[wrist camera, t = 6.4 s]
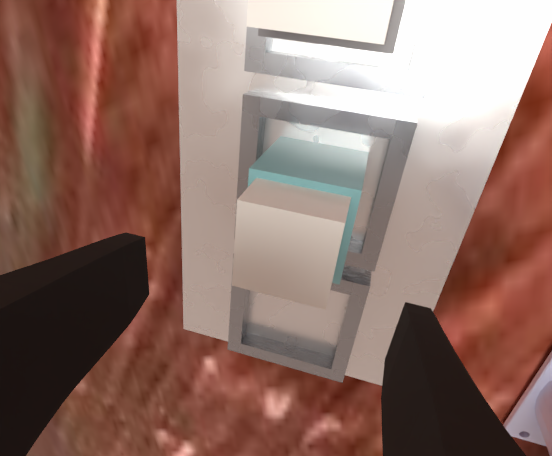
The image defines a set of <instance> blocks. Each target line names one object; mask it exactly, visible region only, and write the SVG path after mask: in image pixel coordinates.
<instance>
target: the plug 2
mask: <svg viewBox="0 0 552 456" xmlns="http://www.w3.org/2000/svg"><path fill="white" fill-rule="evenodd" d="M368 154H369V152H365V151H360V150H354V149H349V148H343V147H338V146H333V145H327V144H322V143H316V142H311V141H305V140H300V139H294V138H289V137H283V136H280V137H279V138H278V139H277V140H276V141H275V142H274V143H273V144H272V145H271V146H270V147H269V148H268V149H267V150H266V151H265V152H264V153H263V154H262V155H261V156H260V157H259V159H258V160H257V161H256V162H255V163H254V164H253V165H252V166H251V167H250V168H249V176H248V188H247V189H246V190H245V191H244V192H243V194H242V195H241V196H240V197H239V198H238V199H237V210H236V226H235V243H234V259H233V275H232V286H236V287H240V288H243V289H247V290H251V291H255V292H259V293H263V294H266V295H270V296H274V297H278V298H282V299H286V300H290V301H293V302H297V303H301V304H305V305H309V306H313V307H317V308H320V309H324V310H326V306H327V302H328V298H329V293H330V289H331V285H332V283H335V284H339V285H340V281H341V277H342V272H343V268H344V264H345V260H346V256H347V251H348V247H349V243H350V239H351V235H352V230H353V226H354V222H355V218H356V214H357V210H358V205H359V201H360V197H361V193H362V188H363V182H364V177H365V171H366V165H367V160H368Z"/></svg>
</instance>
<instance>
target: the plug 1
mask: <svg viewBox="0 0 552 456" xmlns="http://www.w3.org/2000/svg"><path fill="white" fill-rule="evenodd" d="M405 3H406V0H248V9H247V26H246V27H254V28H258V36H262V37H269V38H277V39H284V40H291V41H299V42H306V43H313V44H321V45H328V46H336V47H343V48H350V49H358V50H365V51H372V52H380V53H387V54H393V53H394V49H395V45H396V41H397V37H398V32H399V28H400V24H401V20H402V15H403V11H404V7H405Z"/></svg>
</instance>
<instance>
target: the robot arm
mask: <svg viewBox="0 0 552 456" xmlns="http://www.w3.org/2000/svg"><path fill="white" fill-rule="evenodd" d="M148 295H149V285H148V272H147V258H146V245H145V237H141V236H137V235H133V234H129V233H123V234H119V235H116V236H112V237H109V238H106V239H104V240H101V241H98V242H95V243H92V244H90V245H87V246H84V247H81V248H79V249H76V250H73V251H70V252H68V253H65V254H62V255H59V256H57V257H54V258H51V259H48V260H45V261H42V262H39V263H36V264H33V265H30V266H27V267H24V268H21V269H18V270H15V271H12V272H9V273H6V274H3V275H0V456H26V454H27V453H28V451H29V450H30V449H31V447H32V446H33V444H34V443H35V441H36V440H37V438H38V437H39V435H40V434H41V432H42V431H43V430H44V428H45V427H46V425H47V424H48V423H49V421H50V420H51V418H52V417H53V416H54V414H55V413H56V411H57V410H58V409H59V407H60V406H61V404H62V403H63V402H64V401H65V399H66V398H67V397H68V396H69V394H70V393H71V392H72V391H73V389H74V388H75V387H76V386H77V385H78V383H79V382H80V381H81V380H82V379H83V378H84V376H85V375H86V374H87V373H88V372H89V371H90V370H91V368H92V367H93V366H94V365H95V364H96V363H97V362H98V360H99V359H100V358H101V357H102V356H103V355H104V353H105V352H106V351H107V350H108V349H109V348H110V347H111V345H112V344H113V343H114V342H115V341H116V340H117V338H118V337H119V336H120V335H121V334H122V333H123V331H124V330H125V329H126V328H127V327H128V325H129V324H130V323H131V321H132V320H133V318H134V317H135V316H136V314H137V313H138V311H139V310H140V308H141V306H142V305H143V303H144V302H145V300H146V298H147V297H148ZM381 403H382V441H383V456H526V455H525V454H524V452H523V451H522V450H521V448H520V447H519V446H518V445H517V443H516V442H515V441H514V439H513V438H512V437H516V438H519V439H523V440H526V441H529V442H533V443H536V444H540V445H543V446H546V447H547V449H548V452H549V454H550V456H552V351H551V353H550V354H549V356H548V357H547V359H546V360H545V362H544V363H543V365H542V366H541V368H540V369H539V371H538V372H537V374H536V375H535V377H534V378H533V380H532V382H531V383H530V385H529V386H528V388H527V389H526V391H525V392H524V394H523V395H522V397H521V398H520V400H519V401H518V403H517V404H516V406H515V407H514V409H513V410H512V412H511V413H510V415H509V416H508V418H507V419H506V421H505V423H504V425H502V423H501V422H500V420H499V419H498V418H497V416H496V415H495V413H494V412H493V410H492V409H491V407H490V406H489V405H488V403H487V402H486V400H485V399H484V397H483V396H482V394H481V393H480V391H479V390H478V388H477V386H476V385H475V383H474V382H473V380H472V378H471V377H470V375H469V374H468V372H467V370H466V369H465V367H464V365H463V364H462V362H461V361H460V359H459V357H458V355H457V354H456V352H455V350H454V349H453V347H452V345H451V343H450V342H449V340H448V338H447V336H446V335H445V333H444V331H443V329H442V327H441V325H440V324H439V322H438V320H437V318H436V316H435V315H434V313H433V311H432V310H431V308H428V307H424V306H420V305H416V304H412V303H408V302H405V304H404V307H403V309H402V312H401V315H400V318H399V321H398V323H397V326H396V329H395V332H394V335H393V338H392V340H391V343H390V346H389V349H388V352H387V354H386V357H385V362H384V373H383V384H382V396H381ZM511 436H512V437H511Z"/></svg>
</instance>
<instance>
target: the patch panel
mask: <svg viewBox="0 0 552 456" xmlns="http://www.w3.org/2000/svg"><path fill="white" fill-rule="evenodd" d="M247 9H248V0H177V36H178V84H179V132H180V179H181V227H182V275H183V322H184V329H186V330H189V331H193V332H196V333H200V334H203V335H207V336H210V337H214V338H217V339H221V340H224V341H228V350H231V351H235V352H238V353H242V354H245V355H249V356H252V357H255V358H259V359H262V360H266V361H269V362H273V363H276V364H280V365H283V366H286V367H290V368H293V369H297V370H300V371H304V372H307V373H311V374H314V375H317V376H321V377H324V378H328V379H331V380H335V381H338V382H342V383H343V379H344V376H345V375H346V376H350V377H353V378H357V379H360V380H364V381H367V382H371V383H374V384H378V385H381V386H382V384H383V373H384V362H385V357H386V354H387V352H388V349H389V346H390V343H391V340H392V338H393V335H394V332H395V329H396V326H397V323H398V321H399V318H400V315H401V312H402V309H403V307H404V304H405V302H408V303H412V304H416V305H420V306H424V307H428V308H431V310H432V311H434V308H435V306H436V303H437V301H438V298H439V296H440V293H441V291H442V289H443V286H444V284H445V281H446V279H447V276H448V274H449V271H450V269H451V267H452V264H453V262H454V259H455V257H456V254H457V252H458V249H459V247H460V245H461V242H462V240H463V237H464V235H465V232H466V230H467V228H468V225H469V223H470V220H471V218H472V215H473V213H474V210H475V208H476V206H477V203H478V201H479V198H480V196H481V193H482V191H483V188H484V186H485V184H486V181H487V179H488V176H489V174H490V171H491V169H492V166H493V164H494V162H495V159H496V157H497V154H498V152H499V149H500V147H501V144H502V142H503V140H504V137H505V135H506V132H507V130H508V127H509V125H510V122H511V120H512V118H513V115H514V113H515V110H516V108H517V105H518V103H519V101H520V98H521V96H522V93H523V91H524V88H525V86H526V83H527V81H528V79H529V76H530V74H531V71H532V69H533V66H534V64H535V61H536V59H537V57H538V54H539V52H540V49H541V47H542V44H543V42H544V39H545V37H546V35H547V32H548V30H549V27H550V25H551V22H552V0H406V3H405V7H404V11H403V15H402V20H401V24H400V28H399V32H398V37H397V41H396V45H395V49H394V53H393V54H387V53H380V52H372V51H365V50H358V49H350V48H343V47H336V46H328V45H321V44H313V43H306V42H299V41H291V40H284V39H277V38H269V37H262V36H258V28H254V27H246V26H247ZM280 136H283V137H289V138H294V139H300V140H305V141H311V142H316V143H322V144H327V145H333V146H338V147H343V148H349V149H354V150H360V151H365V152H369V154H368V160H367V165H366V171H365V177H364V182H363V188H362V193H361V197H360V201H359V205H358V210H357V214H356V218H355V222H354V226H353V230H352V235H351V239H350V243H349V247H348V251H347V256H346V260H345V264H344V268H343V272H342V277H341V281H340V285H339V284H335V283H332V285H331V289H330V293H329V298H328V302H327V306H326V310H324V309H320V308H317V307H313V306H309V305H305V304H301V303H297V302H293V301H290V300H286V299H282V298H278V297H274V296H270V295H266V294H263V293H259V292H255V291H251V290H247V289H243V288H240V287H236V286H232V275H233V259H234V243H235V226H236V210H237V199H238V198H239V197H240V196H241V195H242V194H243V192H244V191H245V190H246V189H247V188H248V176H249V168H250V167H251V166H252V165H253V164H254V163H255V162H256V161H257V160H258V159H259V157H260V156H261V155H262V154H263V153H264V152H265V151H266V150H267V149H268V148H269V147H270V146H271V145H272V144H273V143H274V142H275V141H276V140H277V139H278V138H279V137H280Z"/></svg>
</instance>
